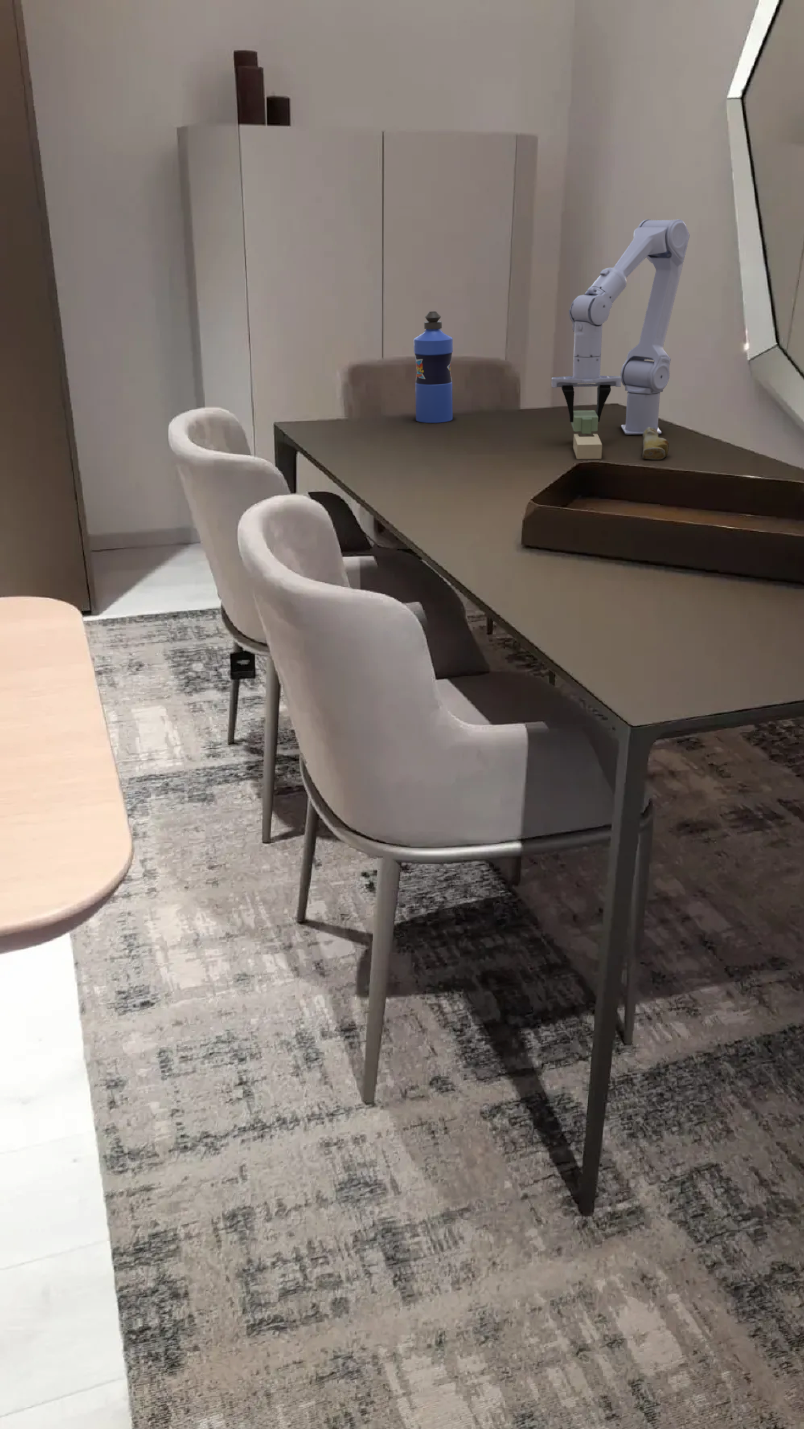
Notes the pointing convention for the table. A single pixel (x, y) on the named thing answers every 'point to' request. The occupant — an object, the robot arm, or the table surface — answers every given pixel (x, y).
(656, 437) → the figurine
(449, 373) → the water bottle
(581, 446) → the cream pad
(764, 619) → the table surface
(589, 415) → the green notched block
